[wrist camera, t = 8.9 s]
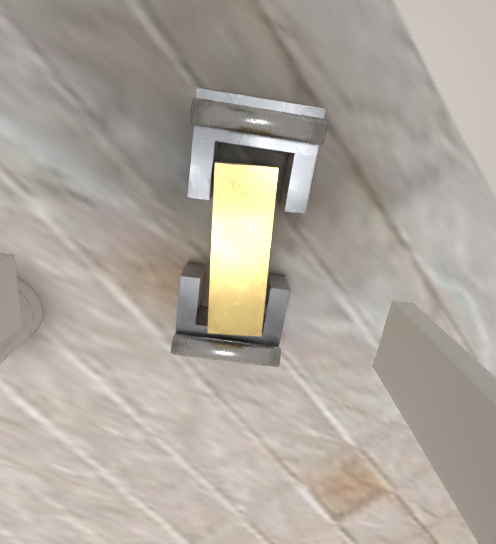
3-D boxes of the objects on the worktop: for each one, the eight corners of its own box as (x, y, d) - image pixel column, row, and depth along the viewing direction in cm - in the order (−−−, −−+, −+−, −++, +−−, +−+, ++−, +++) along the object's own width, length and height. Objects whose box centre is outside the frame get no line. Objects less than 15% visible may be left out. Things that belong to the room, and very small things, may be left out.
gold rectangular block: (221, 161, 27) (214, 162, 21) (271, 165, 27) (278, 167, 21) (214, 300, 31) (207, 333, 25) (258, 303, 31) (261, 336, 25)
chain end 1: (203, 96, 25) (193, 82, 20) (315, 114, 26) (331, 105, 21) (194, 192, 28) (183, 199, 23) (297, 207, 28) (308, 217, 23)
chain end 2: (188, 262, 29) (176, 283, 25) (284, 275, 30) (292, 298, 25) (181, 333, 32) (169, 365, 27) (271, 345, 32) (276, 378, 27)
